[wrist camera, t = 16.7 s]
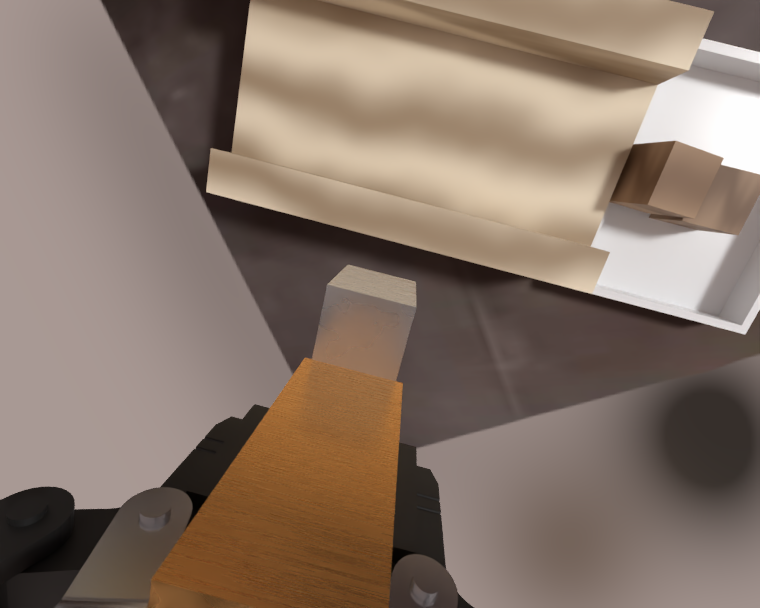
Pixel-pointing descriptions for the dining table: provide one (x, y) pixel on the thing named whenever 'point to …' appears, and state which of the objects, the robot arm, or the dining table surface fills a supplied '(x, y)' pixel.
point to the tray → (681, 244)
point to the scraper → (310, 473)
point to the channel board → (453, 120)
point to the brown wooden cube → (666, 179)
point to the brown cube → (723, 203)
